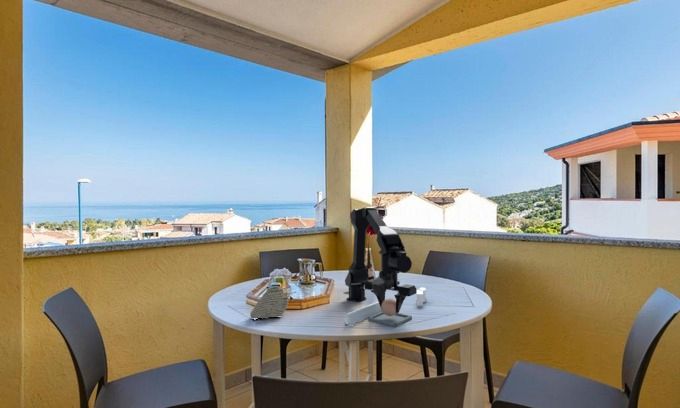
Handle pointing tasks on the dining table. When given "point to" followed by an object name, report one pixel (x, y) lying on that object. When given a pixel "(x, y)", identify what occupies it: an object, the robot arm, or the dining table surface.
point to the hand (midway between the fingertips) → (389, 311)
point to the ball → (389, 307)
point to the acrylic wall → (363, 313)
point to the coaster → (390, 319)
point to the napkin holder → (421, 297)
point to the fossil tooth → (271, 304)
